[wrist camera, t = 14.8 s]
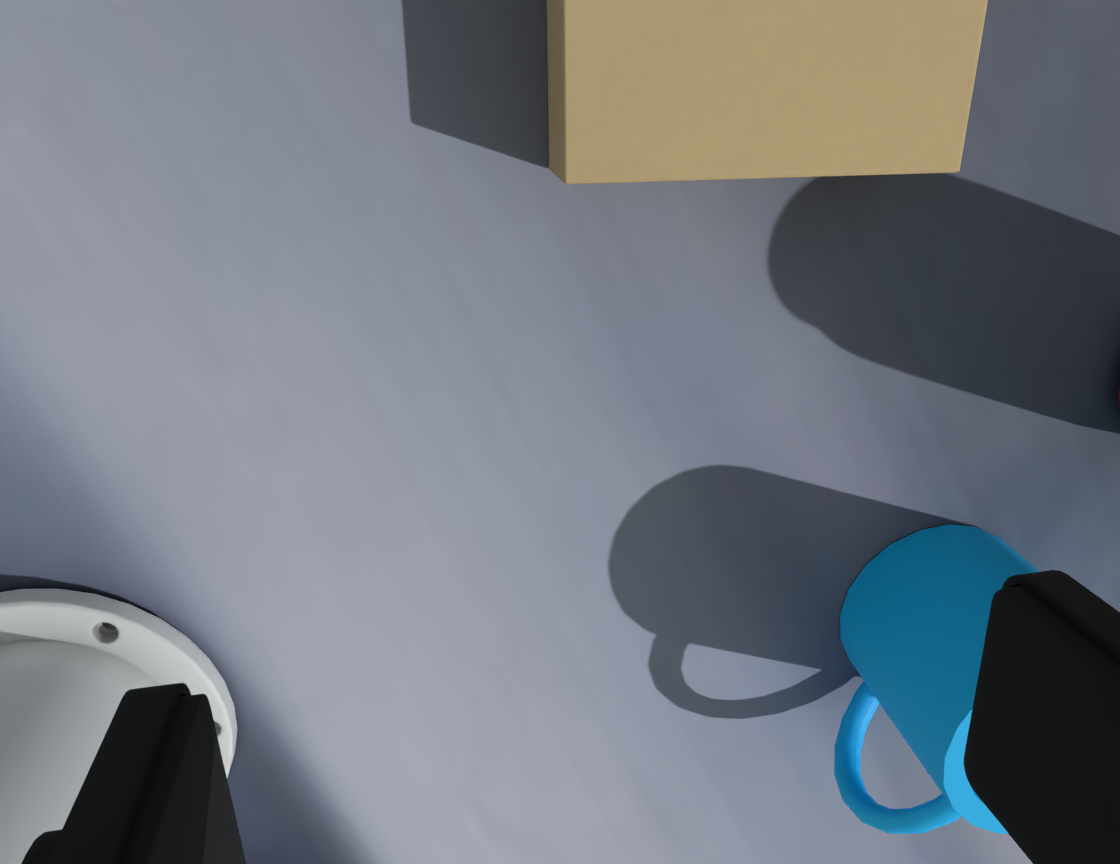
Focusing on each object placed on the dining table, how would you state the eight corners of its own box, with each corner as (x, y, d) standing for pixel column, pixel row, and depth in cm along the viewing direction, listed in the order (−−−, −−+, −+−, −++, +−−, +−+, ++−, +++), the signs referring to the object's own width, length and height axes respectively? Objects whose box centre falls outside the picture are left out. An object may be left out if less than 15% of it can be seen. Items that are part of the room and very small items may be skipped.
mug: (935, 490, 35) (1072, 608, 27) (1058, 581, 37) (1213, 710, 30) (742, 698, 38) (819, 856, 30) (869, 768, 40) (968, 928, 33)
